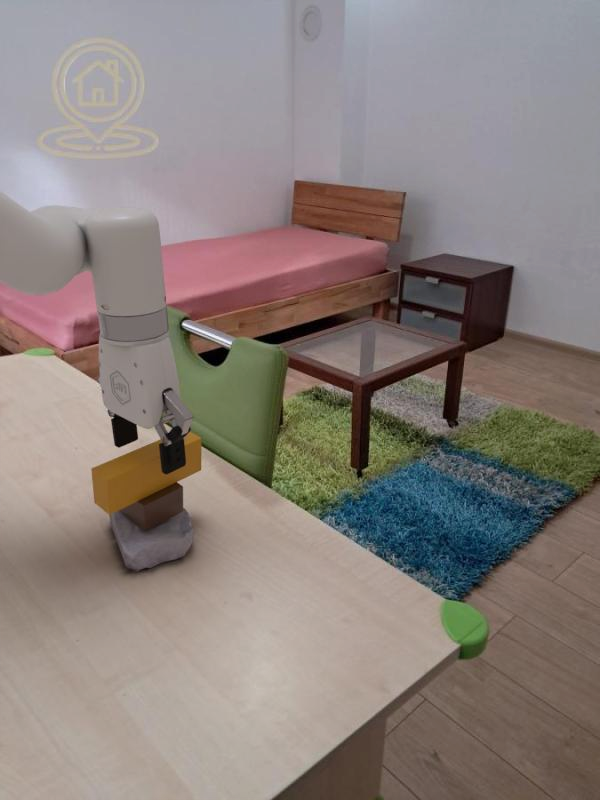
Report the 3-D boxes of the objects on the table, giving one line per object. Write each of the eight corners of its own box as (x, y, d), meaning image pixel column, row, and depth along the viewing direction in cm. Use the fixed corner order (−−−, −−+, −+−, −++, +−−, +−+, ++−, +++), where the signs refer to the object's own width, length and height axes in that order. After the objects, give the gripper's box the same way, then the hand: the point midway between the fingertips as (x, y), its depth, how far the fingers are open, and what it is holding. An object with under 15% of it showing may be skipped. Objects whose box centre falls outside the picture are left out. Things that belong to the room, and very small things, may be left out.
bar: (94, 502, 76) (91, 468, 74) (186, 460, 85) (185, 428, 83) (109, 515, 74) (106, 480, 72) (201, 470, 84) (201, 438, 81)
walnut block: (116, 509, 81) (115, 484, 80) (155, 490, 85) (154, 466, 84) (145, 531, 78) (143, 505, 76) (183, 511, 82) (183, 486, 80)
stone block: (174, 517, 91) (102, 523, 86) (178, 488, 89) (106, 493, 84) (201, 568, 81) (122, 579, 76) (207, 537, 79) (127, 545, 74)
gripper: (63, 315, 74) (84, 444, 81) (153, 349, 63) (168, 494, 70) (119, 302, 79) (134, 424, 86) (210, 331, 68) (219, 468, 75)
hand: (149, 455), depth 78 cm, fingers open, 9 cm apart
